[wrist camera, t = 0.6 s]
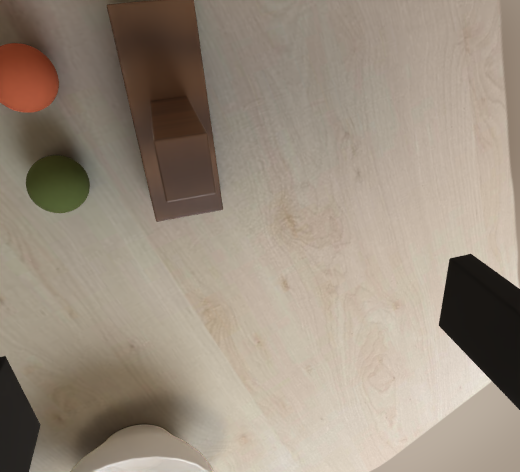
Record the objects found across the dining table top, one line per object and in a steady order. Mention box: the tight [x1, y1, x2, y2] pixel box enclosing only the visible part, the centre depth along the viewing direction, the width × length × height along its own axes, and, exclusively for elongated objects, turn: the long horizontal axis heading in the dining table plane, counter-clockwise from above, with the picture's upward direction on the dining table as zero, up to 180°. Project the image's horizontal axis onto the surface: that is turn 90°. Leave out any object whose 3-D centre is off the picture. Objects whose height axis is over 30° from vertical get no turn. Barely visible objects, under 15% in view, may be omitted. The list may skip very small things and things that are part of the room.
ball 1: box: [0, 43, 59, 112], centre depth 26 cm, size 4×4×4 cm
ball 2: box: [26, 155, 90, 213], centre depth 29 cm, size 4×4×4 cm
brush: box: [107, 0, 223, 222], centre depth 25 cm, size 14×5×14 cm, turn 5°
